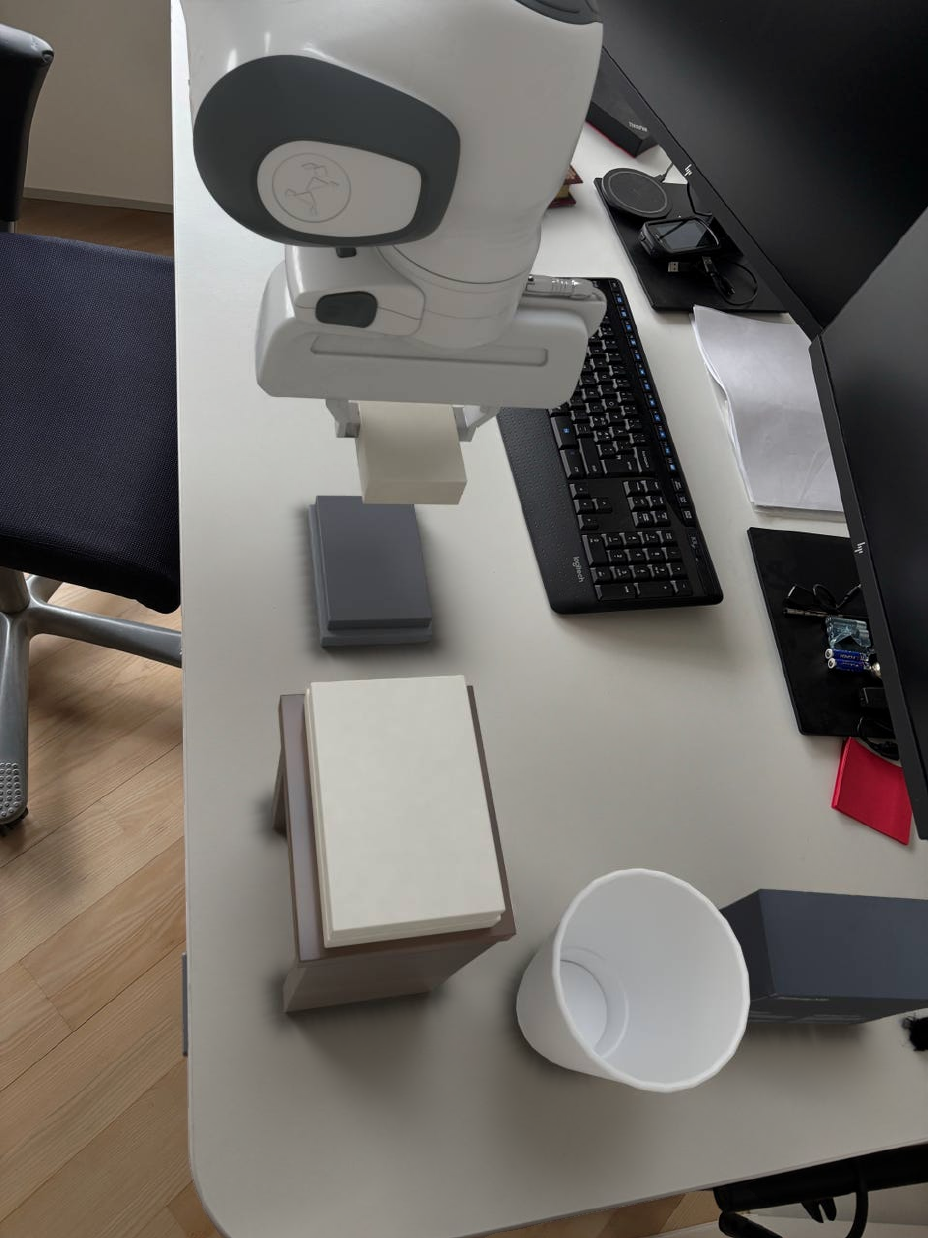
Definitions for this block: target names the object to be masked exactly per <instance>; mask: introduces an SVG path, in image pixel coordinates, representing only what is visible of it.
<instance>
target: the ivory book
mask: <svg viewBox="0 0 928 1238" xmlns="http://www.w3.org/2000/svg"><path fill="white" fill-rule="evenodd" d="M349 402H350V403H358V407H359V415H360V422H361V425H360V430H359V432H358V433H359V434H358V438H354V444H355V452H356V461H357V468H358V475H359V484H360V491H361V496H362V499H363V503H364V504H414V505H441V506H442V505H446V506H448V505H450V506H451V505H453V506H457V505H459V504H460V502H461V499H462V496H463V494H464V492H465V489H466V486H467V483H468V477H467V472H466V467H465V462H464V458H463V457H464V456H463V452H462V447H461V442H459V437H458V431H457V426H456V421H455V416H454V411H453V407H454V405H450V404H427V403H404V402H382V401H359V400H349Z"/></svg>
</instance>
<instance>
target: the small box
mask: <svg viewBox="0 0 928 1238" xmlns="http://www.w3.org/2000/svg"><path fill="white" fill-rule="evenodd" d="M718 911H719V912H720V913H721V914H722V915H723V917H724V918H725V919H726V920H727V922H728V924H729V926H730V927H731V929H732V931H733V933H734V935H735V937H736V939H737V941H738V942H739V944H740V946H741V950H742V953H743V957H744V960H745V964H746V967H747V971H748V976H749V992H750V1006H749V1012H748V1018H747V1023H757V1024H758V1023H759V1024H761V1023H765V1024H792V1025H793V1024H796V1025H797V1024H798V1025H825V1026H826V1025H828V1026H856V1025H862V1024H865V1023H870V1022H874V1021H877V1020H878V1021H879V1020H882V1019H884V1018H885V1019H886V1018H889V1017H894V1016H897V1015H901V1014H905V1013H911V1012H915V1011H920V1010H925V1009H928V899H925V898H924V899H923V898H911V897H899V896H898V897H896V896H895V897H894V896H879V895H864V894H848V893H835V892H834V893H832V892H820V891H805V890H793V889H792V890H791V889H774V888H759V889H757V890H755V891H753V892H751V893H749V894H747V895H746V896H743V897H741V898H740V899H737V900H735V901H733V902H732V903H729V904H727V905H726V906H724V907H722V908H720V909H718Z"/></svg>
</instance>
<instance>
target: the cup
mask: <svg viewBox="0 0 928 1238" xmlns="http://www.w3.org/2000/svg"><path fill="white" fill-rule="evenodd" d="M718 910H719V909H718V908H717V907H716V906H715V904H713V902H712V901H711V900H710V899H709V898H708V897H707V896H706V895H704V894H703V893H702V892H700V891H699V890H698V889H697V888H695V887H694V886H693V885H691V884H690V883H689V882H687V881H684V880H683V879H681V878H678V877H676V876H674V875H671V874H670V873H667V872H665V871H659V870H654V869H648V868H641V867H637V868H629V869H628V868H627V869H621V870H620V869H619V870H613V871H611V872H608V873H607V874H604V875H603V876H599V877H597V878H596V879H593V880H592V881H590V882H589V883H588V884H587V885H585V887H584V888H582V889H581V890H580V891H579V892H578V893H577V894H575V895H574V897H573V898H572V900H571V901H570V902H569V905H568V906H567V907H566V909H565V910H564V913H562V915H561V917H560V919H559V921H558V922H557V924H556V925H555V927H554V928H553V930H552V931H551V932H550V934H549V935H548V937H547V938H546V939H545V941H544V943H543V944H542V945H541V947H540V948H539V950H537V952H536V954H535V955H534V957H533V958H532V960H531V961H530V962H529V964H528V966H527V967H526V969H525V970H524V972H523V975H522V978H521V982H520V985H519V989H518V991H517V995H516V1005H515V1006H516V1007H515V1011H516V1015H517V1022H518V1025H519V1027H520V1030H521V1032H522V1034H523V1037H524V1039H526V1041H527V1043H528V1044H529V1045H530V1046H531V1048H532V1049H534V1050H535V1051H536V1052H537V1053H538V1054H539V1055H541V1056H542V1057H544V1058H546V1059H547V1060H548V1061H550V1062H551V1063H552V1064H553V1063H554V1064H555V1065H557V1066H560V1067H562V1068H565V1069H567V1070H572V1071H575V1072H580V1073H583V1074H587V1075H591V1076H595V1077H598V1078H602V1079H606V1080H609V1081H610V1080H611V1081H614V1082H618V1083H622V1084H626V1085H628V1086H631V1087H632V1088H635V1089H637V1090H641V1091H648V1092H658V1093H663V1094H669V1093H672V1092H679V1091H684V1090H689V1089H693V1088H695V1087H697V1086H699V1085H701V1084H702V1083H704V1082H706V1081H708V1080H709V1079H711V1078H713V1077H714V1076H716V1075H717V1074H719V1072H720V1071H721V1070H722V1068H724V1066H725V1065H727V1063H728V1062H729V1061H730V1060H731V1059H732V1057H733V1056H734V1055H735V1053H736V1051H737V1050H738V1047H739V1044H740V1043H741V1041H742V1038H743V1036H744V1034H745V1032H746V1028H747V1023H748V1022H747V1018H748V1012H749V1006H750V992H749V976H748V971H747V967H746V964H745V960H744V957H743V953H742V950H741V946H740V944H739V942H738V941H737V939H736V937H735V935H734V933H733V931H732V929H731V927H730V926H729V924H728V922H727V920H726V919H725V918H724V917H723V915H722V914H721V913H720V912H719V911H718Z"/></svg>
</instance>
